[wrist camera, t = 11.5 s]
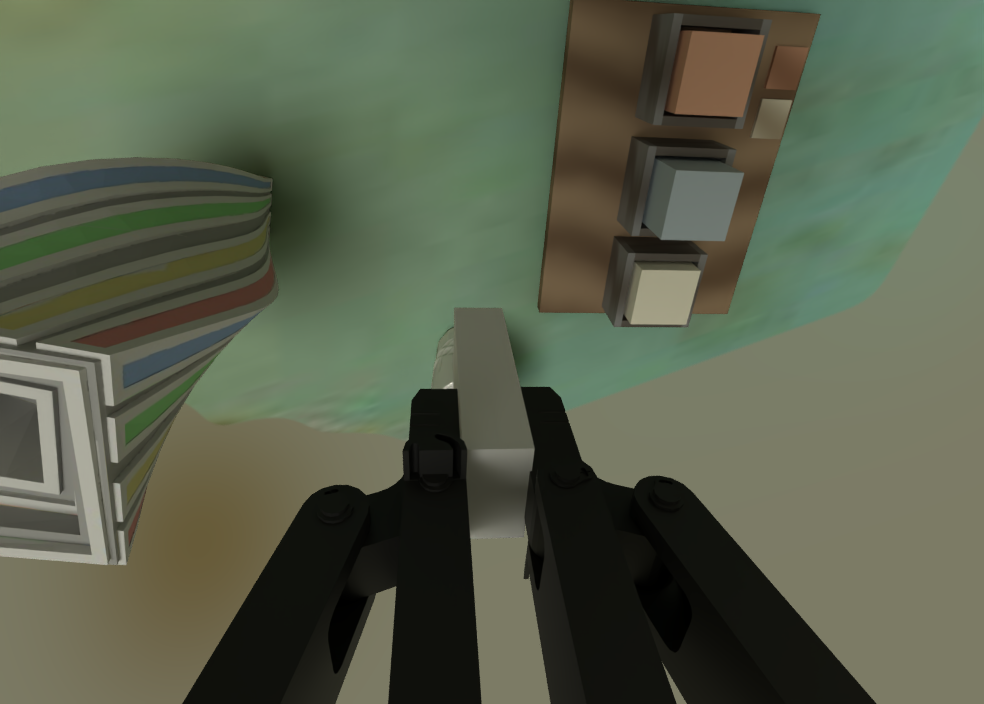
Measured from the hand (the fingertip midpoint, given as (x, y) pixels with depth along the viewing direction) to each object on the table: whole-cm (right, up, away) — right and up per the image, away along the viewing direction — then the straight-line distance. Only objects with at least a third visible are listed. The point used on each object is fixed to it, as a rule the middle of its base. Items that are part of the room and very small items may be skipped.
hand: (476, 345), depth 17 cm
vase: (-20, +12, +26) cm, 34 cm away
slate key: (+15, +12, +24) cm, 31 cm away
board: (+14, +14, +27) cm, 34 cm away
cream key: (+14, +7, +30) cm, 34 cm away
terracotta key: (+15, +20, +22) cm, 34 cm away
